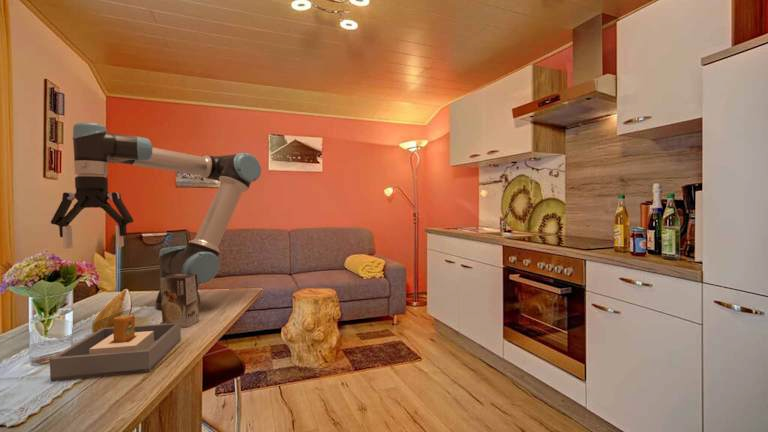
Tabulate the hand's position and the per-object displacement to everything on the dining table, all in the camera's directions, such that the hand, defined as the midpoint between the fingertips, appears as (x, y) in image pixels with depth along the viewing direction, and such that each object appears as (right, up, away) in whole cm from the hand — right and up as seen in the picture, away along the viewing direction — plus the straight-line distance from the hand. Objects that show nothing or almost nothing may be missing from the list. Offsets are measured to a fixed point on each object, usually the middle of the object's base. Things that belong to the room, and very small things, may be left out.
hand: (94, 247), depth 105 cm
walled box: (+20, -27, -14) cm, 36 cm away
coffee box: (+19, -26, +11) cm, 35 cm away
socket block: (+20, -27, -14) cm, 36 cm away
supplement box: (+20, -27, -14) cm, 36 cm away
